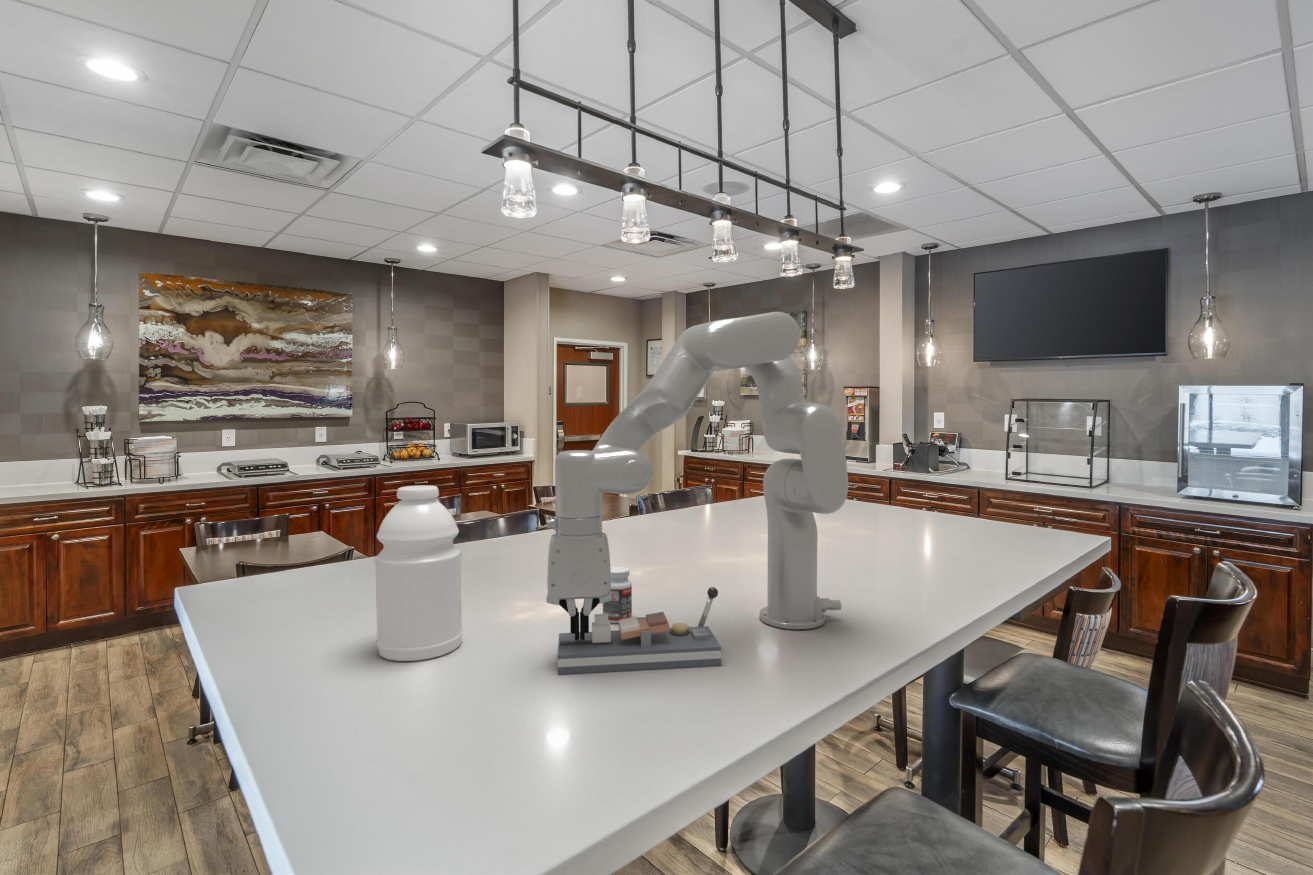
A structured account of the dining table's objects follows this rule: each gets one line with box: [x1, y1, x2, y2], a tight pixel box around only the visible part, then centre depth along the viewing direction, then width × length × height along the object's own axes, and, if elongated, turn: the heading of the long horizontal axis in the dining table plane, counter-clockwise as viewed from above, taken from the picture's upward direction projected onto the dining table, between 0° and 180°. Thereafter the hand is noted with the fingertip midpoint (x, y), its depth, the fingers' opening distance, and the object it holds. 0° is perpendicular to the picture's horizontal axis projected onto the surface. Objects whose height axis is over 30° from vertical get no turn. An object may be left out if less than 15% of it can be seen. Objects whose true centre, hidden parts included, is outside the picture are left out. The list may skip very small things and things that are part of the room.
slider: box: [591, 613, 612, 643], centre depth 103 cm, size 3×2×4 cm
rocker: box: [617, 611, 671, 640], centre depth 104 cm, size 8×5×2 cm, turn 97°
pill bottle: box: [602, 566, 633, 624], centre depth 124 cm, size 6×6×10 cm
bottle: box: [374, 484, 463, 662], centre depth 109 cm, size 14×14×28 cm
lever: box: [697, 586, 719, 629], centre depth 106 cm, size 2×2×7 cm
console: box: [557, 616, 722, 676], centre depth 104 cm, size 26×10×6 cm, turn 98°
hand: (579, 637), depth 103 cm, fingers closed
